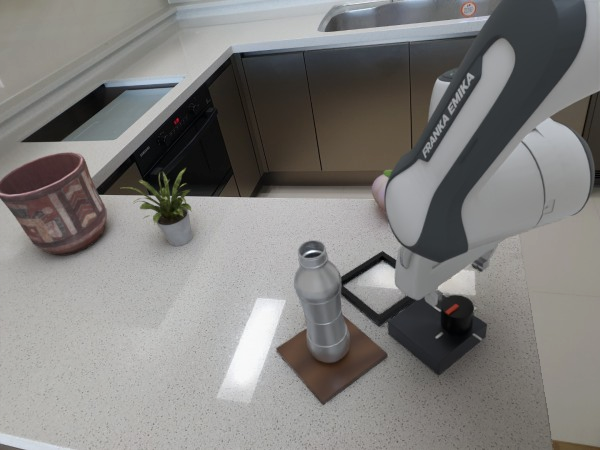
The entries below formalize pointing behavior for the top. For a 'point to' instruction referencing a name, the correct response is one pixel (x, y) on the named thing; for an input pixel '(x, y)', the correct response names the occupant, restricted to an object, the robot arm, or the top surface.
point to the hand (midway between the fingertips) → (457, 284)
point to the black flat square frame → (360, 304)
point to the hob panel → (433, 335)
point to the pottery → (55, 202)
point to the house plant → (170, 211)
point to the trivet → (336, 375)
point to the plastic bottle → (321, 303)
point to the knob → (457, 314)
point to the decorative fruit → (380, 189)
